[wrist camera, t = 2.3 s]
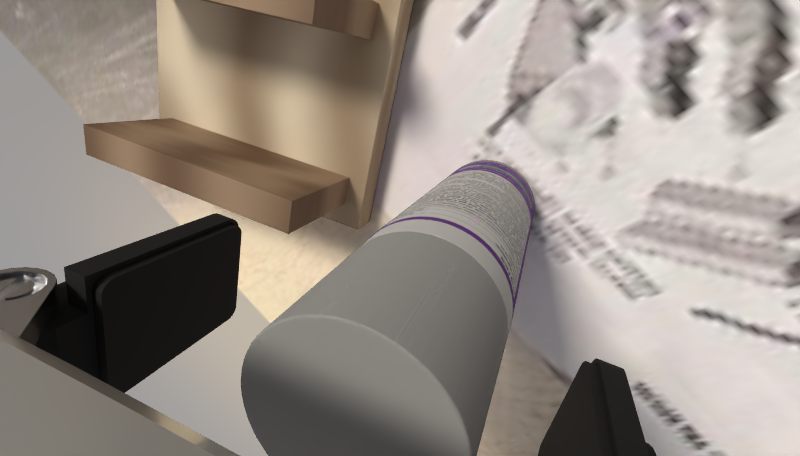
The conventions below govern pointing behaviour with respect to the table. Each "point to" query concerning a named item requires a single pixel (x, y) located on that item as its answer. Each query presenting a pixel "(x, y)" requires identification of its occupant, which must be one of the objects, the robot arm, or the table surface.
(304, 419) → the container
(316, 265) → the table surface
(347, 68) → the slot rack
